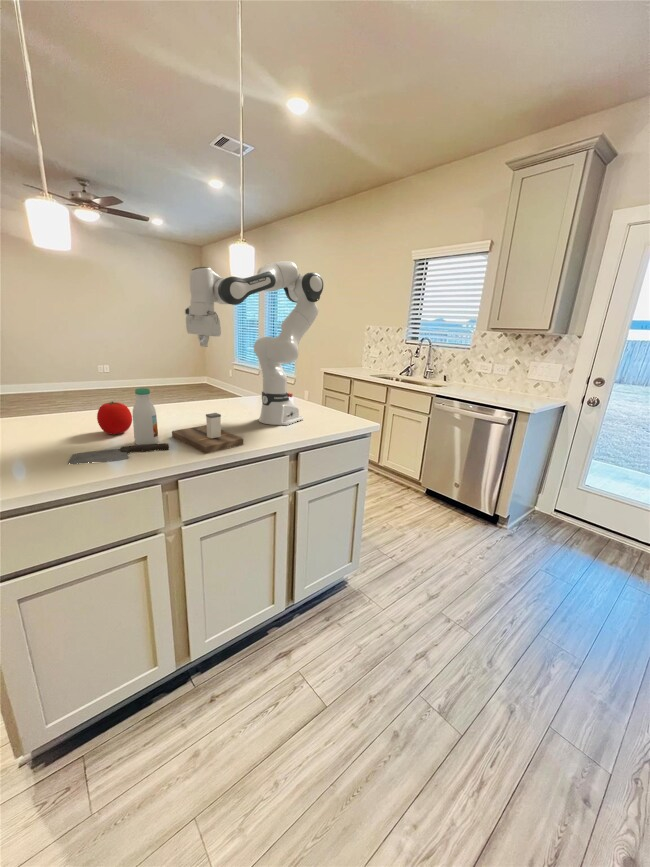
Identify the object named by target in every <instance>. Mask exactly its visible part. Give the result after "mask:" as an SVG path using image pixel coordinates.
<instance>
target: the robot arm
mask: <svg viewBox="0 0 650 867" xmlns="http://www.w3.org/2000/svg"><path fill="white" fill-rule="evenodd" d="M282 289H283V290H284V293H285V296H286V298H287V299H288V301H290V302H292V303H295V304H296V305H295V307H294V308H293V309H292V310H291V312H290V313H289V314H288V315H287V316H286V317H285V319H284V320H283V321H282V322H281V323H280V329H281V331H280V333H279V334H278V335H277V336H276V337H274V336H273V337H272V336H265V337H260V338H257V340H255V341H254V344H253V352H254V354H255V356H256V357H257V359H258V361H259V364H260V368H261V373H262V391H261V402H262V404H261V409H260V410H261V411H260V414H259V418H258V422H260V423H262V424H266V425H272V426H278V425H279V426H289V424H290V425H292V423H293V424H295V422H296V423H298V422H297V421H299V422H301V421H304V420H303V419H304V417H303V416H302V415H300V411H299V408H298V406H297V405H296V404H294V403H293V402H292V401H291V400H290V398H293V396H294V394H293V392H287V386H288V384H287V383H288V377H287V374H286V372H285V371H284V369H283V366H282V364H283V365H285V364H287V365H288V364H292V363H294V362H295V361H297V359H298V357H299V354H300V349H299V347H298V346H299V343H300V341H301V339H302V338H303V337H304V336H305V334H306V333H307V332H308V330H309V329H310V328H311V326H312V325H313V324H314V321H316V318H317V316H318V314H319V308H318V305H317V302H318V301H320V298H321V295H322V293H323V291H324V290H323V289H324V280H323V278H322V276H321V275H320V274H319V273H317V272H307V273H305V274H302V275H301V273H300V272H299V268H298V266H297V264H295V262H293V261H290V260H281V261H273V262H271V263H268V264H265V265H263V266H260V267H259V268H258V270H257V273H256V274H254V275H252V276H248V277H244V278H241V277H237V276H229V277H226V278H224V277H222V276H220V275H219V274H217V273H216V272H214V270H213V269H212V268H211V267H208V266H199V267H194V268H192V269H191V270H190V274H189V293H190V295H191V296H190V305H189V306H187V307H185V309H184V315H185V327H186V328H185V329H186V332H187V334H190V335H196V336H197V339H198V341H199V346H200V347H201V348H202V347H203V348H207V347H208V346H209V345H208V344H209V341H210V337H220V336H221V334H222V329H221V321H220V318H219V315H218V313H217V312H216V311H215V303H216V304H219V305H230V306H231V305H232V306H237V305H240V304H242V303H243V302H244V301H245V300H246V299H247V298H248V297H250V296H251V295H254V294H258V293H260V292H263V291H264V292H273V291H274V292H275V291H279V290H282ZM300 420H301V421H300Z"/></svg>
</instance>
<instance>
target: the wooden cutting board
mask: <svg viewBox="0 0 650 867" xmlns="http://www.w3.org/2000/svg"><path fill="white" fill-rule="evenodd" d="M171 438H173V439H176V440H177V441H179V442H180V443H183V444H185V445H187V446H189V447H191V448H193V449H195V450H197V451H199V452H201V453H203V454H205V455H206V454H210V453H215V452H218V451H223V450H226V449H230V447H231V448H235V447H234V446H236V447H240V446H243V445H244V437H242V436H241V437H240V436H239V435H236V434H234V433H230V432H229V431H226V430H223V429H221V437H217V438H212V439H211V438H209V437H207V424H205V425H198V426H193V427H187V428H180V429H176V430H172V431H171ZM239 445H240V446H239Z"/></svg>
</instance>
